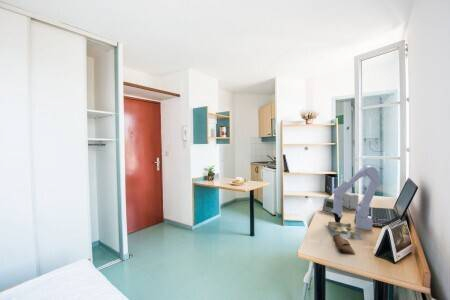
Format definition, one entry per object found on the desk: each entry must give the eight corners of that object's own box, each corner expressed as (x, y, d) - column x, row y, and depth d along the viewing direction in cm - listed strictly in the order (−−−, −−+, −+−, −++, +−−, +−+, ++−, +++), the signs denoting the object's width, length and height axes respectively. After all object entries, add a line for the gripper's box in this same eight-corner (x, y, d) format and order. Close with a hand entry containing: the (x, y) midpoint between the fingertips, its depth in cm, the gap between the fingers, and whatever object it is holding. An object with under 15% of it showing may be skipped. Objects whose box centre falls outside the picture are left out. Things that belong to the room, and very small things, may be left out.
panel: (350, 227, 152) (350, 223, 152) (355, 234, 143) (355, 229, 143) (328, 226, 156) (328, 221, 155) (331, 231, 146) (331, 227, 146)
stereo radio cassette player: (358, 209, 194) (359, 187, 193) (350, 210, 193) (350, 187, 192) (342, 202, 215) (343, 182, 214) (334, 203, 214) (335, 182, 213)
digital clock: (321, 209, 193) (321, 198, 193) (328, 208, 197) (329, 196, 196) (336, 216, 178) (337, 203, 178) (344, 214, 182) (345, 201, 181)
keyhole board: (352, 228, 153) (353, 223, 153) (363, 241, 134) (363, 235, 134) (324, 226, 157) (325, 221, 157) (331, 238, 139) (331, 232, 138)
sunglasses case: (356, 255, 118) (350, 244, 119) (344, 260, 120) (337, 249, 120) (347, 240, 135) (341, 230, 136) (336, 245, 137) (331, 235, 138)
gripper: (329, 201, 166) (329, 219, 167) (334, 207, 152) (333, 226, 153) (339, 202, 164) (339, 220, 165) (345, 208, 150) (345, 227, 151)
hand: (337, 223), depth 159 cm, fingers closed
